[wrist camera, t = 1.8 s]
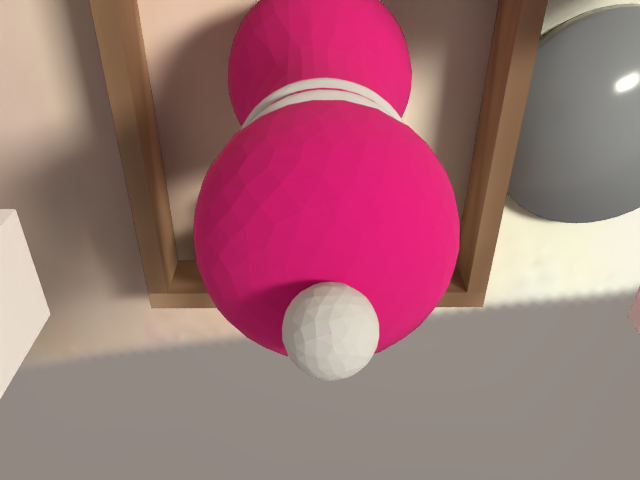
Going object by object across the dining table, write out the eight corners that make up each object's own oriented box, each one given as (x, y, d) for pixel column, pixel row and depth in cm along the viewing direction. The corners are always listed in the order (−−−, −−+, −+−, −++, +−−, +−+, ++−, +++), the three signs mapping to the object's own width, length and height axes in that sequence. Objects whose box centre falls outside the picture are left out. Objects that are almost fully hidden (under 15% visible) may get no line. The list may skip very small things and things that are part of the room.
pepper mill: (340, 148, 29) (380, 529, 12) (212, 72, 27) (53, 413, 10) (428, 22, 26) (645, 313, 9) (291, -75, 24) (244, 72, 7)
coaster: (471, 215, 31) (475, 223, 31) (509, 3, 25) (515, 7, 25) (669, 215, 32) (677, 223, 31) (753, 4, 26) (766, 7, 25)
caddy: (163, 274, 33) (151, 308, 31) (94, -105, 23) (68, -101, 20) (469, 273, 34) (482, 306, 31) (540, -102, 23) (568, -98, 21)
